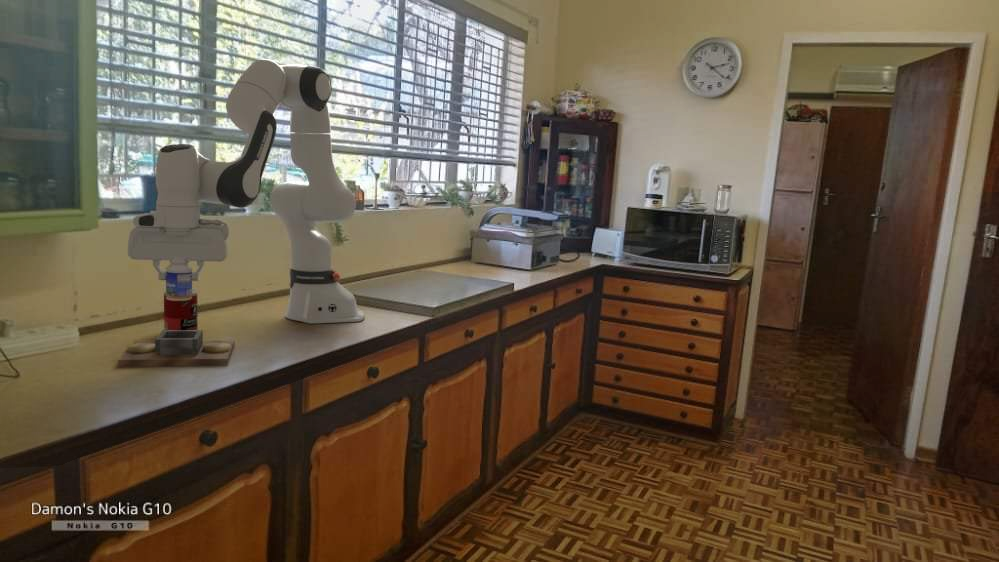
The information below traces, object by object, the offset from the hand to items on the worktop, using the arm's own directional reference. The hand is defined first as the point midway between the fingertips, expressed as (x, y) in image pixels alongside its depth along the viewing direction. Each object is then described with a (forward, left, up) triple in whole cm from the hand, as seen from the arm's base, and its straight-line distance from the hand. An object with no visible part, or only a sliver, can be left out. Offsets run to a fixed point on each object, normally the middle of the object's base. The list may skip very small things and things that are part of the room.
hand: (179, 280), depth 161 cm
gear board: (0, 0, -18) cm, 18 cm away
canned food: (+3, -21, -18) cm, 28 cm away
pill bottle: (0, 0, -4) cm, 5 cm away
